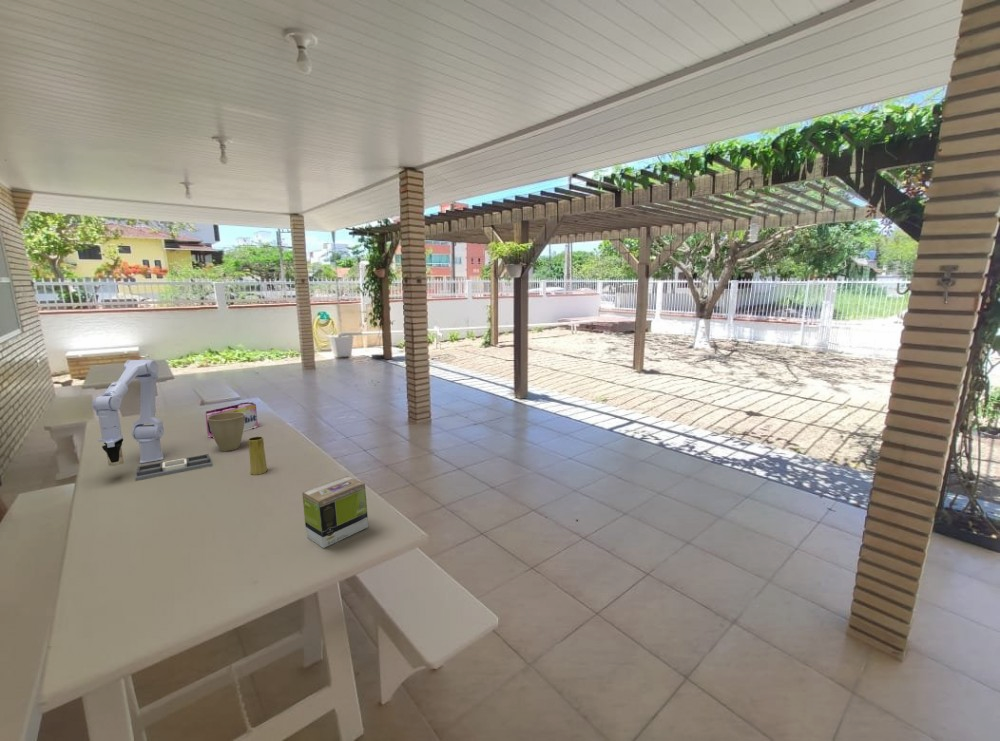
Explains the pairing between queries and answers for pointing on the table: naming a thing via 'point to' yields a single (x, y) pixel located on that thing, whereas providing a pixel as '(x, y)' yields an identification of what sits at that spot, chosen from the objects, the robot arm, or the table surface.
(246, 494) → the table surface
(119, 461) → the beech pin
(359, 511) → the tea box
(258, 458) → the vase
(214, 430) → the plant pot
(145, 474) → the gray compartment tray
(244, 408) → the gum box
